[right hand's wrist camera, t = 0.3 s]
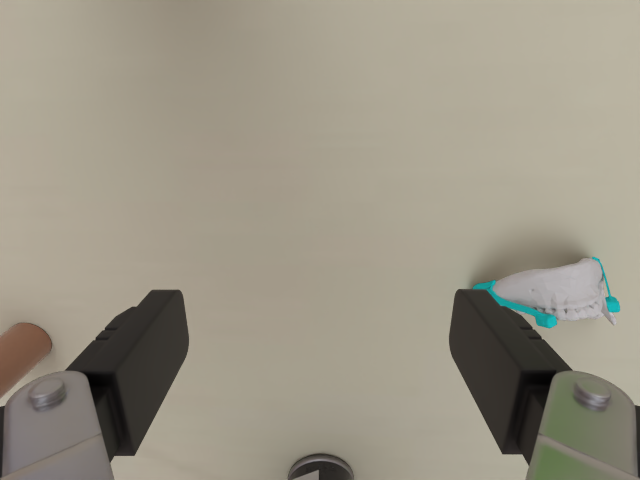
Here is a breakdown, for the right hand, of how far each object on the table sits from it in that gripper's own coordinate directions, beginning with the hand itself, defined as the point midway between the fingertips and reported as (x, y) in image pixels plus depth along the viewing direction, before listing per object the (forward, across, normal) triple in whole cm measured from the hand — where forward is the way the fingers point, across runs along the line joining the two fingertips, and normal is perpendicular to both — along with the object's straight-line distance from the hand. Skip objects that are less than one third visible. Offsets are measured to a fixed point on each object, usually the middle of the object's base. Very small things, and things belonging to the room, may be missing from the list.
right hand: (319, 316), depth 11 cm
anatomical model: (+29, +24, -14) cm, 40 cm away
